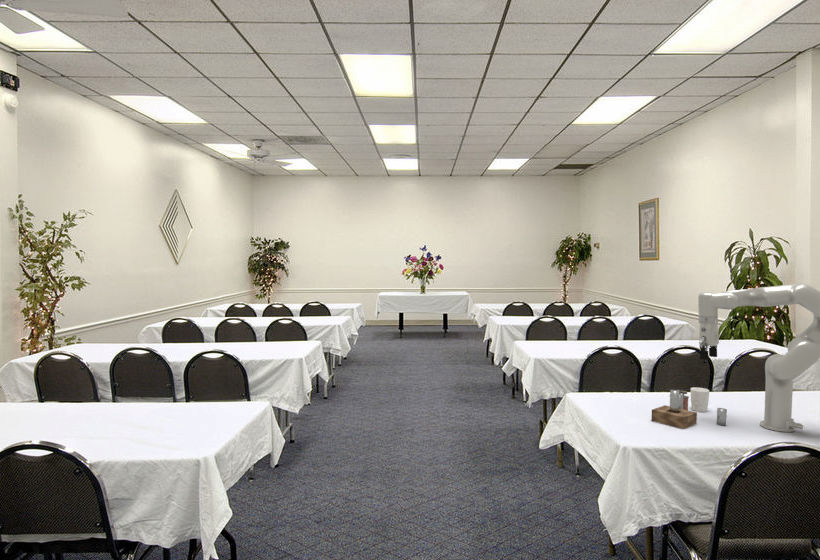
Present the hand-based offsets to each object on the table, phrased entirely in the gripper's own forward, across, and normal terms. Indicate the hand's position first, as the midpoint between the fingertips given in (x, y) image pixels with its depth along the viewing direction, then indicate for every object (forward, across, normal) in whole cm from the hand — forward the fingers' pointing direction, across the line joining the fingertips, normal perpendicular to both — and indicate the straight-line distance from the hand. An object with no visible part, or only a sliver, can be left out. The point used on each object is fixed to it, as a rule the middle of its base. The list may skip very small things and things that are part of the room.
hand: (708, 358), depth 232 cm
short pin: (+28, -4, -6) cm, 29 cm away
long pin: (+27, -17, +8) cm, 33 cm away
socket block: (+27, -17, +8) cm, 33 cm away
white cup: (+28, +12, +9) cm, 32 cm away
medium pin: (+27, -6, +11) cm, 30 cm away
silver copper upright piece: (+28, +3, +15) cm, 31 cm away
